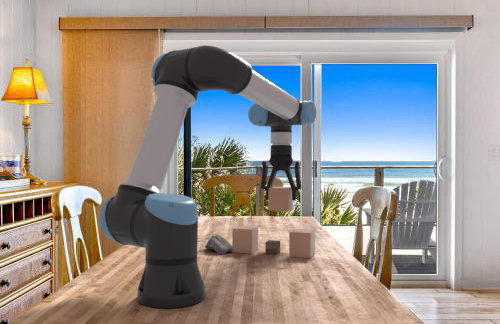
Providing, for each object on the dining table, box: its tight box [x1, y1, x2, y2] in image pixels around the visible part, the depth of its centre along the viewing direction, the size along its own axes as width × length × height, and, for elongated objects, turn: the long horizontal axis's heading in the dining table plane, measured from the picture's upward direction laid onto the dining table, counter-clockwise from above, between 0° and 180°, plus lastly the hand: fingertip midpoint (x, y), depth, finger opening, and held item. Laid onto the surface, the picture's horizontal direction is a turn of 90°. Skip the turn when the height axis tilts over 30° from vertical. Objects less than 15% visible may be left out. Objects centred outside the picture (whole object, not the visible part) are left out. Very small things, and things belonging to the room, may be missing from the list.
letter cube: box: [264, 239, 281, 256], centre depth 157 cm, size 4×4×4 cm
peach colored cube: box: [231, 225, 259, 255], centre depth 160 cm, size 7×7×8 cm
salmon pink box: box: [288, 228, 316, 259], centre depth 154 cm, size 7×7×8 cm
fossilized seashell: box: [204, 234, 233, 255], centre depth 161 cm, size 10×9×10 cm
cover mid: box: [268, 186, 292, 212], centre depth 167 cm, size 7×7×8 cm
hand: (280, 209), depth 167 cm, fingers closed on cover mid, 7 cm apart
